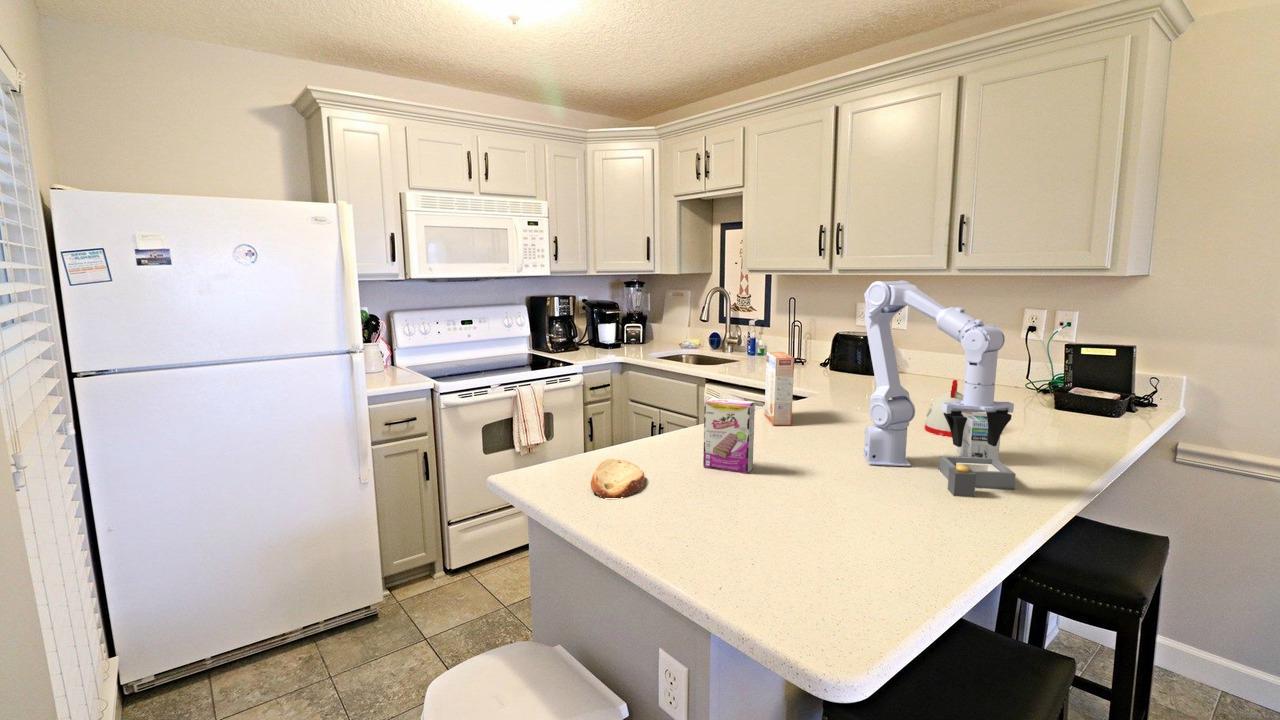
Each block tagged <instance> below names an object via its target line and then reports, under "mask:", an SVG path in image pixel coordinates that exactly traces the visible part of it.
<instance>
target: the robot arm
mask: <svg viewBox="0 0 1280 720" xmlns="http://www.w3.org/2000/svg"><path fill="white" fill-rule="evenodd" d="M863 294H864V300H865V313H864V323H865V324H864V325H865V329H866V334H867V342H868V346H869V352H870V357H871V363H872V368H873V374H874V382H875V386H876V389H875V390H874V391H873V393H872V394H871V395H870V397H869V400H870V407H869V417H870V420H871V421H872V423H873V424H872V425H866V426H865V430H864V443H863V444H864V445H863V446H864V448H863V457H864V458H865V460H866V462H867V463H868V465H870V466H887V467H888V466H889V467H890V466H891V467H892V466H894V467H911V463H909V461H908V460H907V458H906V457H907V455H906V454H907V441H908V440H907V439H908V427H910V422H911V421H913V419H914V418H915V415H916V408H915V404H914V403H913V401H912V400H911V399H912V398H910V393H909V391H908V390H907V389H906V388H905V387H903V385H902V384H901V380H900V375H899V370H898V369H899V368H898V363H897V357H896V351H895V345H894V339H893V336H892V329H891V324H890V323H891V321H892V319H893V318H894V317H895V316H896V314H898V313H899V312H901V310H903V309H905V307H908V306H909V307H910V308H912V309H914V310H916V311H917V312H920V313H921V314H923V315H925V316H926V317H929V318H930V319H932V320H933V321H936V327H937V328H938V330H940V331H941V332H943V333H945V334H946V335H948V336H949V337H951V338H952V339H954V340H956V341H957V342H959V343H960V344H961V347H962V349H963V350H964V352H965V354H964V359H965V366H964V367H965V369H964V379H963V380H964V381H963V393H962V395H963V401H958V402H949V403H942V412H944V416H945V418H946V420H947V422H948V425H949V427H950V431H951V434H952V437H951V438H952V445H953V446H955V447H956V448H957V447H961V446H962V442H963V431H964V427H965V424H966V421H967V418H966V417H964V416H963V414H962V413H967V412H978V413H987V419H988V436H987V441H988V444H990V445H992V446H996V445H997V443H998V440H999V438H1000V439H1001V435H1002V433H1003V431H1004V429H1005V428H1006V426H1007V425H1008V424H1009V423H1010V421H1011V420H1012V414H1011V413H1014V408H1015V404H1014V402H1013V403H1012V402H1010V401H995V392H996V390H995V389H996V377H997V365H998V364H997V363H998V354H999V351H1000V350H1001V349H1002V348H1003V347H1004V345H1005V340H1006V337H1005V334H1004V332H1003V330H1002V329H1001V328H999V327H998V326H997V325H996V324H986V325H985V324H984V321H983V320H982V319H980V318H979V319H978V318H977V319H976V318H974V317H973V316H971V315H969V314H968V313H966V312H965V311H966V309H965V308H963V307H961V306H958V307H956V306H951V307H948V308H946V307H945V306H943V304H941V303H939V302H938V301H936V299H933V298H932V297H930V296H929V295H927V294H926V293H925V292H923V290H920V289H918V287H917V285H915V284H911V283H910V282H908V281H906V280H896V281H891V280H890V281H882V280H881V281H880V280H877V281H876V280H875V281H874V282H872V283H871V284H870V286H868V288H867V289H866V291H865V292H864V293H863Z"/></svg>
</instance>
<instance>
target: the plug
mask: <svg viewBox="0 0 1280 720" xmlns="http://www.w3.org/2000/svg"><path fill="white" fill-rule="evenodd" d="M975 483H976V474H975V473H974V472H973V471H972V470H971V469H970V468H969V466H967V465H963V464H958V465H956V467H949V477H948V479H947V490H948V491H949V492H950V493H951V495H952V496H953V497H960V498H961V497H964V498H975V494H976V493H975V492H976V487H975Z"/></svg>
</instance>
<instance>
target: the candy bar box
mask: <svg viewBox="0 0 1280 720" xmlns="http://www.w3.org/2000/svg"><path fill="white" fill-rule="evenodd" d="M755 412H756V402H755V401H748V400H737V399H730V398H729V399H726V398H722V397H721V398H719V397H718V398H717V397H710V398H708V399H706V400H705V401H704V414H703V415H704V417H703V419H704V421H703V458H702V459H703V463H702V465H703V466H702V467H703V468H709V469H715V470H723V471H729V472H736V473H741V474H749V473H750V471H752V469H753V468H754V446H755V445H754V440H755V414H756V413H755ZM748 472H749V473H748Z"/></svg>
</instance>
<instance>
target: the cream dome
mask: <svg viewBox="0 0 1280 720" xmlns="http://www.w3.org/2000/svg"><path fill="white" fill-rule="evenodd" d="M951 383H952V385H951V390H950V391H947V392H944V393H943V394H941V395H940V396H939V397H938V398H937V399H936V400H935V401H934V402H933V404H932V403H931V404H930V405H929V407H928V409H927V412H926V418H925V424H924V430H925V431H926V432H928V433H930V434H932V433H933V435H936V436H940V435H941V436H942V437H945V436H947V438H952V434H951V431H950V427H949V425H948V422H947V420H946V418H945V416H944V412H942V403H949V402H958V401H963V393H961V392H960V391H958V380H957V379H953V380H952V382H951Z"/></svg>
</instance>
